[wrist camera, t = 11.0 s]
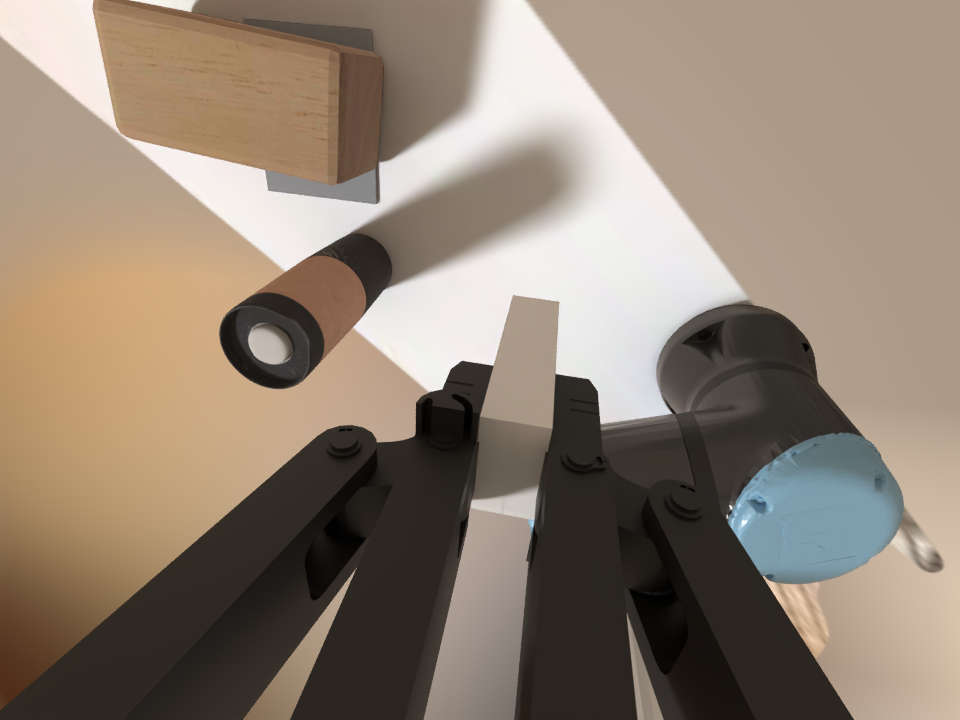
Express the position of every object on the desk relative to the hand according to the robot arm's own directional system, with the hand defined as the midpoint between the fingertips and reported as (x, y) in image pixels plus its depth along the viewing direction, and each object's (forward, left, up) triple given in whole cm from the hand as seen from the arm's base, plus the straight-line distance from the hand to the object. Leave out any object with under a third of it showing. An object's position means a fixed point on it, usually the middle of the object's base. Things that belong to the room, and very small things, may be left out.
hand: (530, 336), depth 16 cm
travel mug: (+20, +12, -35) cm, 42 cm away
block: (+17, -3, -29) cm, 34 cm away
